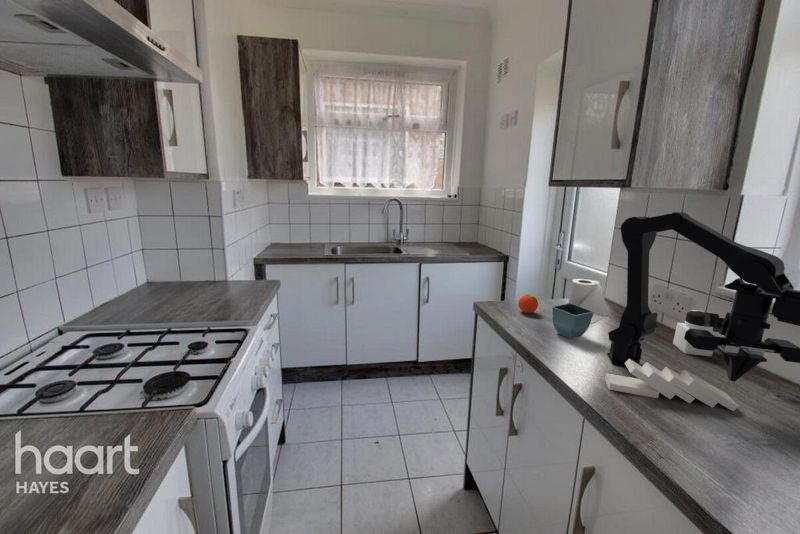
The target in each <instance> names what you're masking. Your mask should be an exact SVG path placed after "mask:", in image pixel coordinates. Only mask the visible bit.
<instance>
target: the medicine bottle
mask: <svg viewBox="0 0 800 534" xmlns="http://www.w3.org/2000/svg"><path fill="white" fill-rule="evenodd" d="M706 313H708V312H706V311H703V310H699V309H691V310H688V311H686V315H685V320H684V322H677V324H676V328H675V333H674V337H673V341H672V344H673V345H674V346H675V347H676V348H677V349H679V351H681V352H683V353H684V354H686V355H693V356H704V357H713V354H714V350H713V351H708V350H701V349H696V348H694V347H693V346H691V345H690V344H689V343H688V342H687V341H686V340H685V339H684V337H685V332H686V331H687V330H689V329H690V328H692V329H700V330H708V331H709V332H710V333H711V334H713V335H714V336H716V337H718V332H713V329H712V327H706V326H705V325H704V319H705V315H706Z"/></svg>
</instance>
